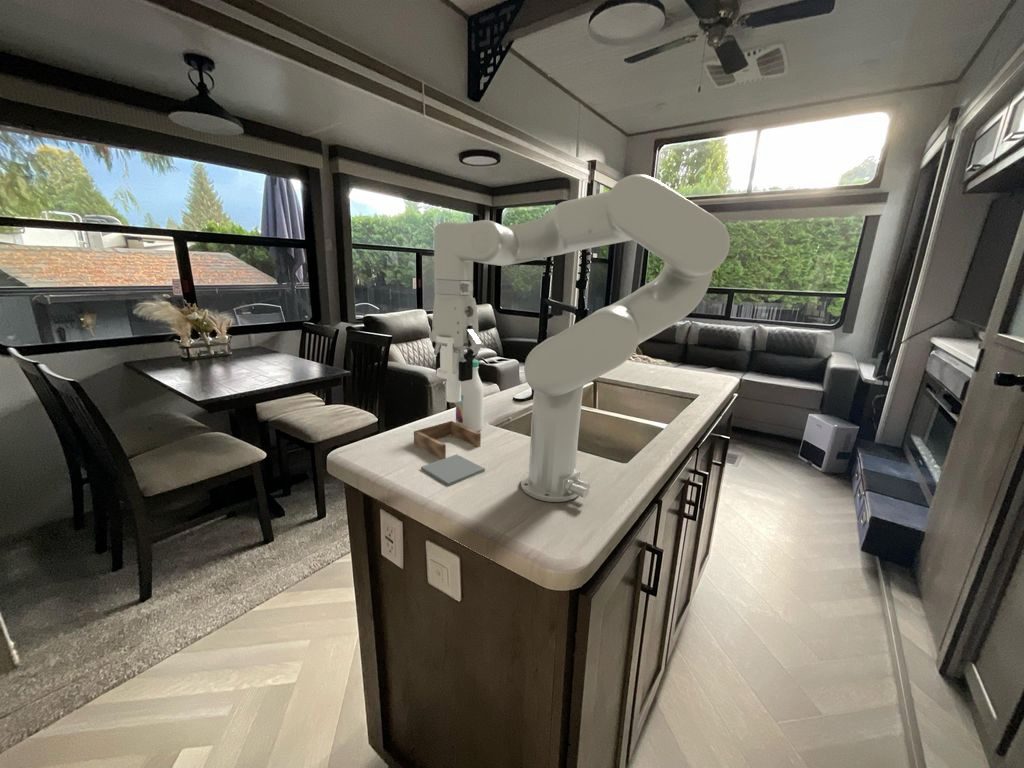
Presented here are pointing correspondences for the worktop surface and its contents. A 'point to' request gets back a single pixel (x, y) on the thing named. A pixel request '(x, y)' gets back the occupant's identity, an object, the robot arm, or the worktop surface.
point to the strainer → (450, 368)
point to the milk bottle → (471, 402)
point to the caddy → (429, 435)
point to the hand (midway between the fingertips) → (453, 376)
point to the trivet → (452, 469)
